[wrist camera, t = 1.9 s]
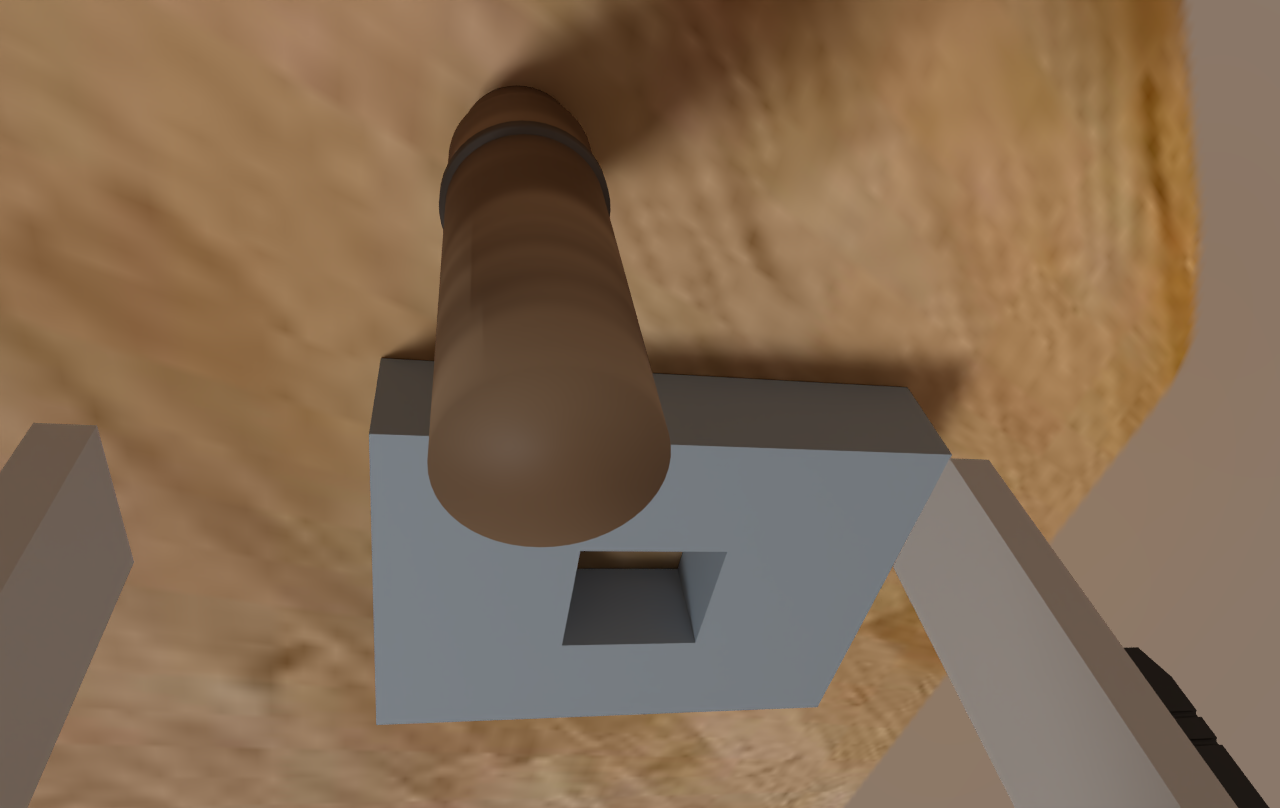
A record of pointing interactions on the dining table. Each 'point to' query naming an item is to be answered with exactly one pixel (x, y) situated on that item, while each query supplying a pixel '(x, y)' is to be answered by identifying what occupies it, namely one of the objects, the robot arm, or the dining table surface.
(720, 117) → the dining table surface
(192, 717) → the dining table surface
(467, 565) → the seat board
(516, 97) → the peg
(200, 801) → the dining table surface
